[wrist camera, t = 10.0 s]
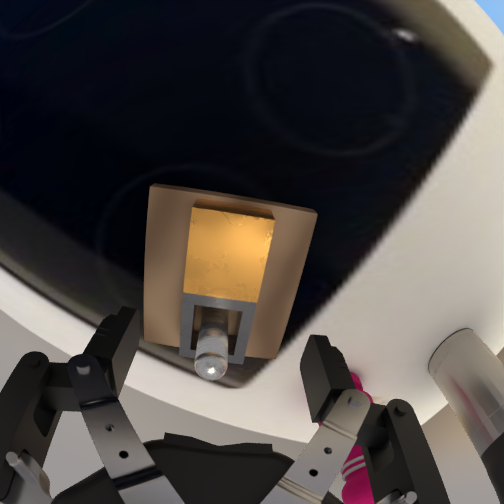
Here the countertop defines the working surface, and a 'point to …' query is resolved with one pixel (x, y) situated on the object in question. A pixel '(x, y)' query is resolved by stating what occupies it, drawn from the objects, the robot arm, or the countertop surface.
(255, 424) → the countertop surface
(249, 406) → the countertop surface
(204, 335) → the post
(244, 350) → the link
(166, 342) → the board
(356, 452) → the pepper mill
